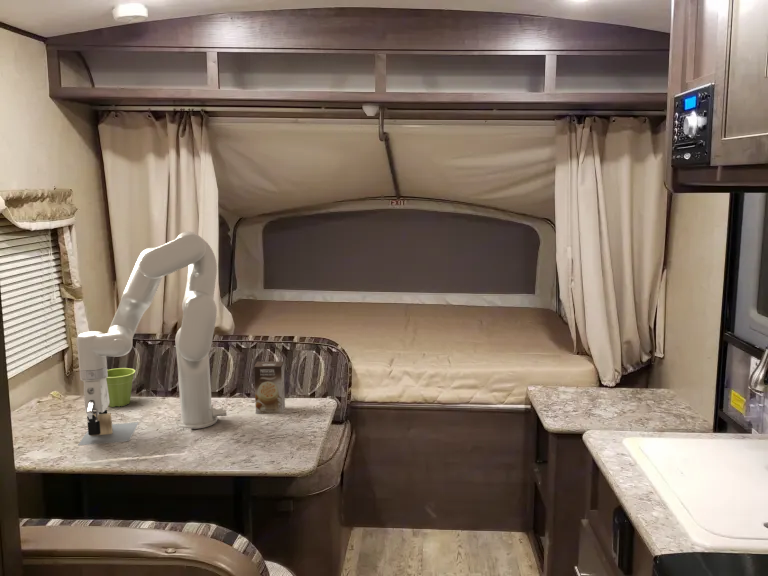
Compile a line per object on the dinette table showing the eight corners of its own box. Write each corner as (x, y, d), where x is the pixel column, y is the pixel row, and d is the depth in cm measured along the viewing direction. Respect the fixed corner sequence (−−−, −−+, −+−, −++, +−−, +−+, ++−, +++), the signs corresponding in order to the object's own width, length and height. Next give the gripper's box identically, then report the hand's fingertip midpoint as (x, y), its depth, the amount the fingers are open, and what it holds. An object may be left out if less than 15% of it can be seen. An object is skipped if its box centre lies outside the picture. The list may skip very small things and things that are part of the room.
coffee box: (254, 414, 214) (252, 366, 212) (258, 407, 221) (256, 361, 218) (283, 413, 214) (281, 366, 212) (285, 407, 221) (283, 360, 218)
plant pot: (124, 410, 220) (121, 378, 218) (93, 408, 222) (90, 376, 221) (144, 399, 231) (142, 368, 229) (114, 397, 234) (112, 366, 232)
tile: (91, 433, 198) (112, 431, 199) (90, 435, 196) (111, 433, 197) (89, 414, 197) (111, 412, 198) (88, 416, 195) (110, 414, 196)
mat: (138, 423, 207) (138, 422, 207) (129, 443, 192) (129, 441, 192) (91, 427, 205) (91, 425, 205) (77, 447, 189) (77, 445, 189)
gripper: (100, 380, 187) (105, 438, 190) (113, 364, 204) (117, 417, 206) (72, 382, 186) (77, 440, 188) (87, 366, 202) (92, 419, 205)
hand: (98, 428), depth 197 cm, fingers open, 9 cm apart
